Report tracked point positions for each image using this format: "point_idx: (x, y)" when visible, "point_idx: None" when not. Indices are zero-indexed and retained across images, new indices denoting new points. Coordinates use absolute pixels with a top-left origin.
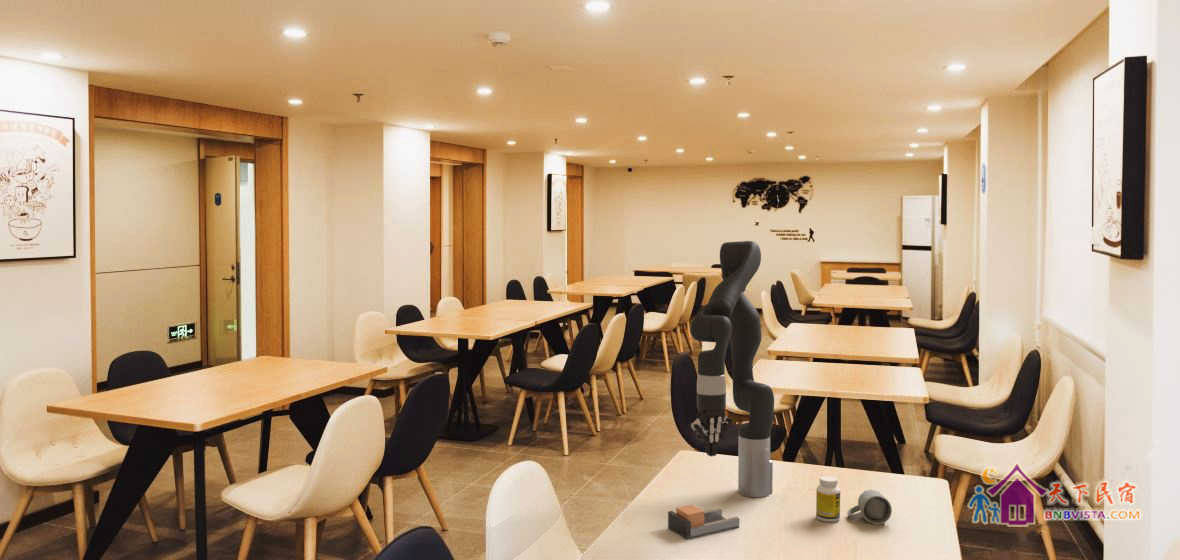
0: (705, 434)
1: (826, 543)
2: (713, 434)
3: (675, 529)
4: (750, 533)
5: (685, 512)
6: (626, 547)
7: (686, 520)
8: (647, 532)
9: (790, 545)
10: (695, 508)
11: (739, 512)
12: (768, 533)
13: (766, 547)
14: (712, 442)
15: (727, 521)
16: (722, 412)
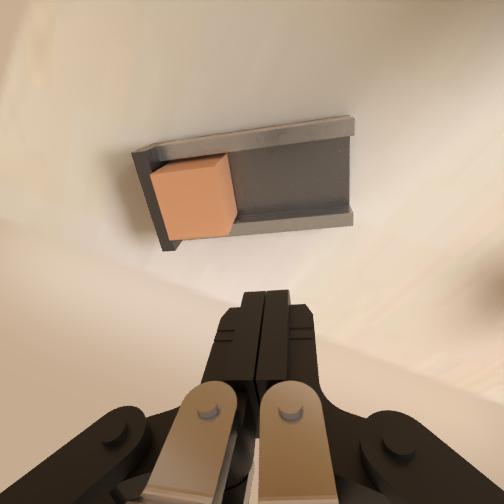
0: (168, 485)
1: (457, 356)
2: (314, 472)
3: None
4: (347, 257)
5: (166, 221)
6: (29, 214)
7: (165, 239)
8: (90, 148)
9: (380, 336)
10: (211, 203)
11: (442, 101)
12: (388, 274)
13: (326, 325)
14: (256, 428)
15: (306, 228)
16: None
